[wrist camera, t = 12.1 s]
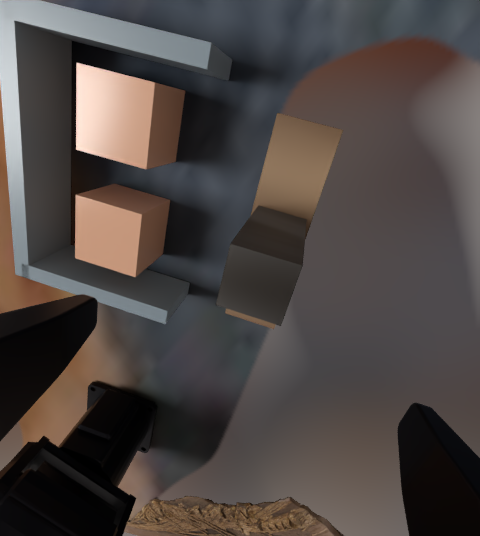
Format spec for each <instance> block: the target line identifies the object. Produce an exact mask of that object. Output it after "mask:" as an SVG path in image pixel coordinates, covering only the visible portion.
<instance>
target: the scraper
mask: <svg viewBox="0 0 480 536" xmlns="http://www.w3.org/2000/svg"><path fill="white" fill-rule="evenodd" d="M342 132H343V130H340V129H337V128H333V127H329V126H326V125H321V124H317V123H314V122H310V121H307V120H303V119H299V118H295V117H291V116H288V115H284V114H280V113H277V116H276V120H275V124H274V128H273V132H272V136H271V140H270V143H269V147H268V151H267V155H266V159H265V163H264V166H263V170H262V174H261V178H260V182H259V186H258V189H257V193H256V197H255V201H254V205H253V209H252V212H251V216H250V218H249V219H248V220H247V222H246V223H245V225H244V226H243V227H242V229H241V230H240V231H239V233H238V234H237V236H236V237H235V238H234V240H233V241H232V242H231V244H230V248H229V252H228V256H227V260H226V265H225V269H224V273H223V277H222V281H221V285H220V289H219V294H218V298H217V302H216V305H217V306H221V307H224V308H226V312H225V313H226V314H229V315H232V316H236V317H239V318H242V319H245V320H248V321H251V322H254V323H257V324H260V325H263V326H266V327H269V328H272V329H274V327H275V325H279V326H281V324H282V321H283V319H284V316H285V313H286V310H287V307H288V305H289V302H290V299H291V296H292V294H293V291H294V288H295V285H296V282H297V280H298V277H299V274H300V271H301V268H302V264H303V254H304V243H305V239H306V236H307V233H308V230H309V227H310V224H311V221H312V218H313V216H314V213H315V210H316V207H317V204H318V201H319V198H320V195H321V193H322V190H323V187H324V184H325V181H326V178H327V175H328V173H329V170H330V167H331V164H332V161H333V158H334V155H335V152H336V150H337V147H338V144H339V141H340V138H341V135H342Z"/></svg>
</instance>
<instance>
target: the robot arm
mask: <svg viewBox="0 0 480 536" xmlns="http://www.w3.org/2000/svg"><path fill="white" fill-rule="evenodd" d="M97 306H98V302H97V299H96V298H94V297H91V296H88V295H85V294H80V295H76V296H72V297H68V298H64V299H60V300H55V301H51V302H47V303H43V304H39V305H35V306H30V307H26V308H22V309H18V310H14V311H9V312H5V313H1V314H0V441H1V440H2V439H3V438H4V437H5V435H6V434H7V433H8V432H9V431H10V430H11V429H12V428H13V427H14V425H15V424H16V423H17V422H18V421H19V420H20V419H21V418H22V417H23V416H24V414H25V413H26V412H27V411H28V410H29V409H30V408H31V407H32V406H33V404H34V403H35V402H36V401H37V400H38V399H39V398H40V397H41V396H42V395H43V393H44V392H45V391H46V390H47V389H48V388H49V387H50V386H51V385H52V383H53V382H54V381H55V380H56V379H57V378H58V377H59V376H60V374H61V373H62V372H63V371H64V369H65V368H66V367H67V366H68V364H69V363H70V361H71V360H72V359H73V357H74V356H75V355H76V353H77V352H78V351H79V349H80V348H81V346H82V345H83V344H84V342H85V341H86V340H87V338H88V337H89V335H90V334H91V333H92V331H93V330H94V328H95V326H96V323H97ZM156 412H157V406H156V404H155V403H153V402H150V401H148V400H145V399H142V398H139V397H136V396H134V395H131V394H128V393H125V392H122V391H120V390H117V389H114V388H111V387H108V386H106V385H103V384H100V383H97V382H92V383H91V384H90V385H89V386H88V401H87V412H86V413H85V414H84V415H83V417H82V418H81V419H80V420H79V422H78V423H77V424H76V425H75V427H74V428H73V429H72V430H71V432H70V433H69V434H68V435H67V437H66V438H65V439H64V440H63V442H62V443H61V444H60V445H59V447H57V446H56V445H54V444H53V443H51V442H50V441H49V440H50V439H48V438H47V437H45V436H43V437H42V438H41V439H40V440H39V442H36V443H35V442H28V443H27V444H26V445H25V446H24V447H23V448H22V449H21V451H20V452H19V453H18V454H17V455H16V456H15V457H14V458H13V459H12V460H11V462H9V463H8V464H7V465H6V466H5V467H4V468H3V469H2V470H1V471H0V536H122V535H123V533H124V530H125V527H126V525H127V522H128V519H129V517H130V514H131V511H132V508H133V506H134V503H135V500H136V498H135V497H134V496H132V495H131V494H130V495H128V494H127V493H125V492H124V491H122V490H121V489H119V488H118V485H119V484H120V482H121V480H122V478H123V476H124V474H125V473H126V471H127V469H128V467H129V465H130V463H131V462H132V460H133V458H134V456H135V454H136V452H137V451H141V452H144V453H147V452H148V451H149V449H150V446H151V440H152V435H153V429H154V423H155V417H156ZM398 445H399V458H400V459H399V460H400V474H401V487H402V495H403V502H404V507H405V513H406V519H407V525H408V531H409V536H480V458H479V457H478V456H477V455H476V454H475V453H474V452H473V451H472V450H471V449H470V448H469V446H467V444H466V443H465V442H464V441H463V440H462V439H461V438H460V437H459V436H458V435H457V434H456V433H455V432H454V431H453V430H452V429H451V428H450V427H449V426H448V425H447V423H446V422H445V421H444V420H443V419H442V418H441V417H440V416H439V415H438V414H437V413H436V412H435V411H434V410H433V409H432V408H431V407H428V406H425V405H422V404H419V403H413V404H412V405H411V406H410V407H409V409H408V410H407V412H406V414H405V415H404V417H403V418H402V420H401V421H400V423H399V426H398Z"/></svg>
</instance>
